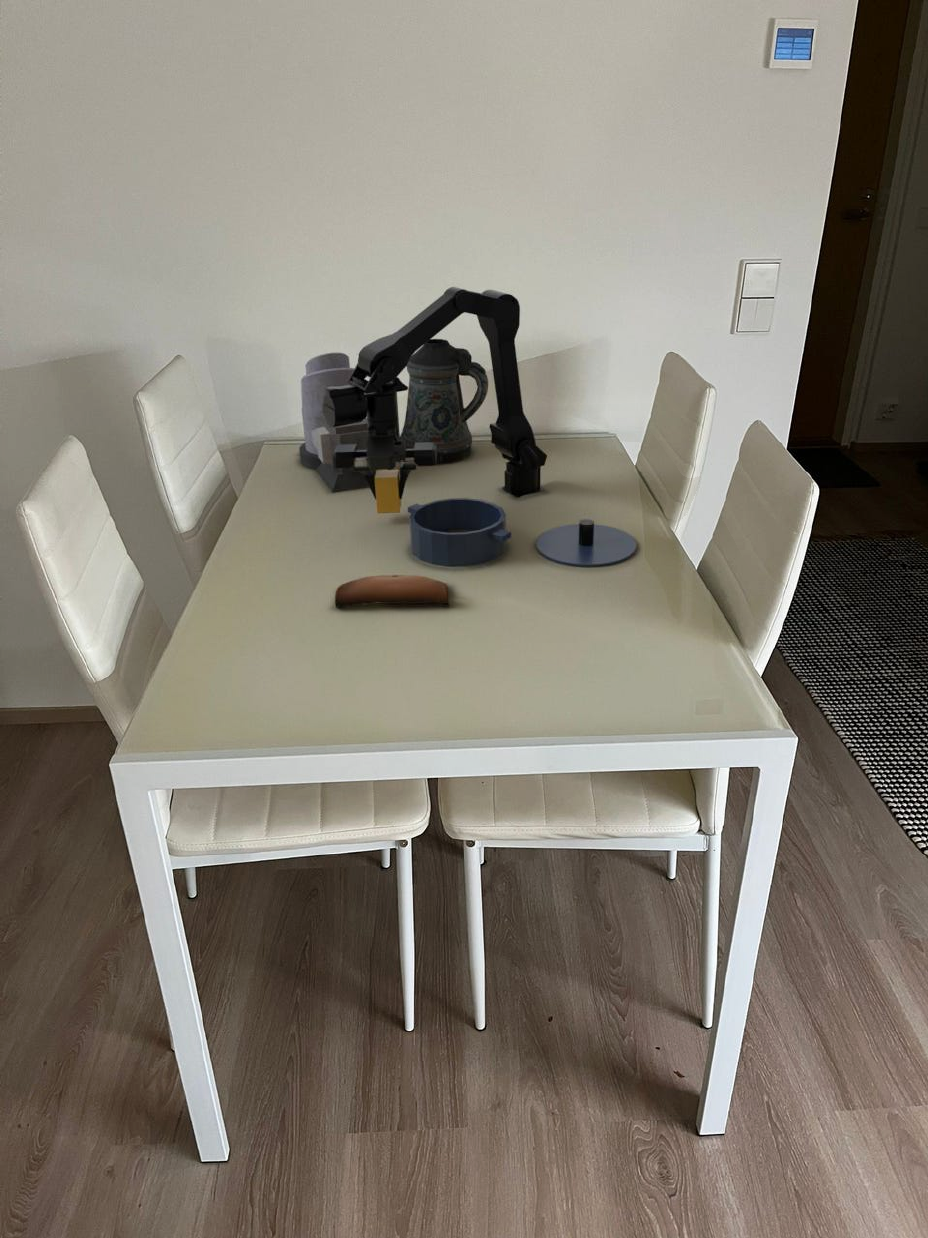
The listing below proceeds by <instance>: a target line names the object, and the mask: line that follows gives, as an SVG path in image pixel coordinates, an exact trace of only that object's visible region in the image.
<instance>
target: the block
mask: <svg viewBox="0 0 928 1238" xmlns="http://www.w3.org/2000/svg"><path fill="white" fill-rule="evenodd" d="M375 471H376V475H375V491H376V500H375V503H376V513H377V514H400V512H401V508H402V499H400V498H399V483H400V469H393V470H386V469H379V470H375Z"/></svg>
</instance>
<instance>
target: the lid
mask: <svg viewBox="0 0 928 1238" xmlns="http://www.w3.org/2000/svg"><path fill="white" fill-rule="evenodd" d="M535 541H536V542H535V548H536V549H535V550H537V552H538V554H540V555H541V556H542V557H543V558H545V559H547V560H549V561H551V562H554V563H556V564H561V565H564V566H569V567H570V566H571V567H579V568H599V567H600V568H601V567H607V566H613V565H616V564H619V563H622V562H625V561H627V560H628V559H630V558H632V556H634V555H635V553H636V551H637V548H638V545H637V541H636V539H635V538H634V537H633V536H632V535H631V534H629V533H628V532H626V531H624V530H622V529H619V528H616V527H612V526H608V525H603V524H596V523H595V521H594V520H593V519H587V518H586V519H581V520H579V521H578V523H574V524H566V525H560V526H557V527H552V528H551V529H548V530H545V531H544V532H543V533H541V534H540V535H538V537H537V538H536V540H535Z"/></svg>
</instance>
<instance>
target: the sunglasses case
mask: <svg viewBox="0 0 928 1238" xmlns="http://www.w3.org/2000/svg"><path fill="white" fill-rule="evenodd" d="M448 585H449V584H448V583H445V582H443V581H440V580H438V579H434V578H431V577H427V576H422V575H417V574H387V575H386V574H385V575H370V576H365V577H359V578H356V579H353V580H350V581H347V582H345V583H342V584H341V585H339V586H338V587H337V588H336V590H335V594H334V595H335V596H334V605H335V608H337V607H346V606H347V607H348V606H359V605H360V606H361V605H370V604H371V605H372V604H401V603H409V604H412V603H413V604H419V603H420V604H421V603H441V604H442V603H443V604H444V603H445V604H447V605H450V602H451V601H450V598H449V588H448Z"/></svg>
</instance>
